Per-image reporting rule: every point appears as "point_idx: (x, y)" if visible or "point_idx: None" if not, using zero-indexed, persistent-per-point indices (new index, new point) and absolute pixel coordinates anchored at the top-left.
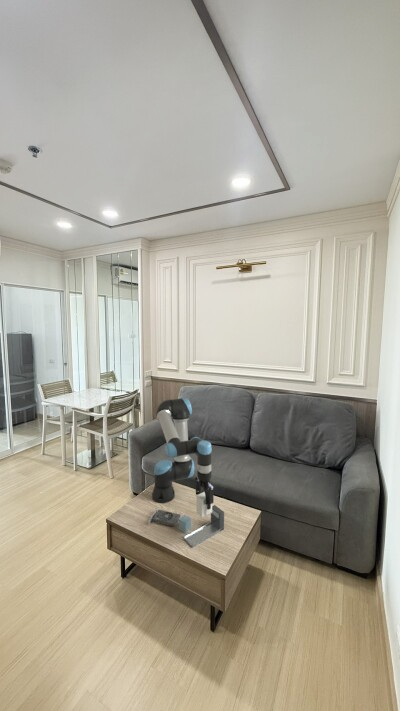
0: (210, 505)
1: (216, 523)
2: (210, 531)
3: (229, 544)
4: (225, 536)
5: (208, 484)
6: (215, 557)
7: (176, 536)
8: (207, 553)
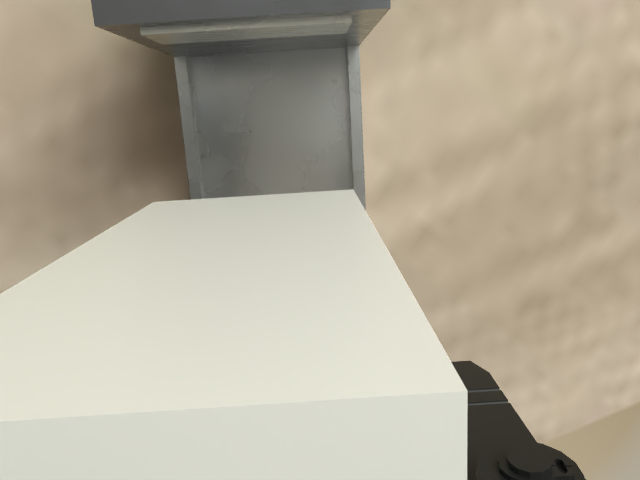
0: (518, 422)
1: (288, 44)
2: (308, 159)
3: (571, 87)
4: (455, 44)
5: None
6: (597, 311)
7: None
8: (513, 344)
